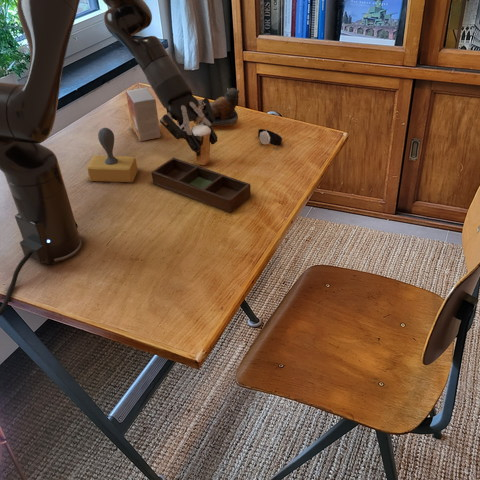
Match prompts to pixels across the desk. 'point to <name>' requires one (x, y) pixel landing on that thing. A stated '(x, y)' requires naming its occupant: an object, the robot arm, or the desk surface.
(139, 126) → the small box
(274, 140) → the watch
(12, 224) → the desk surface
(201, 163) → the milkshake
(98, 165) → the rubber stamp
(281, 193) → the desk surface
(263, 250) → the desk surface
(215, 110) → the brown animal figure
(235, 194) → the tray
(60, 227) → the robot arm
